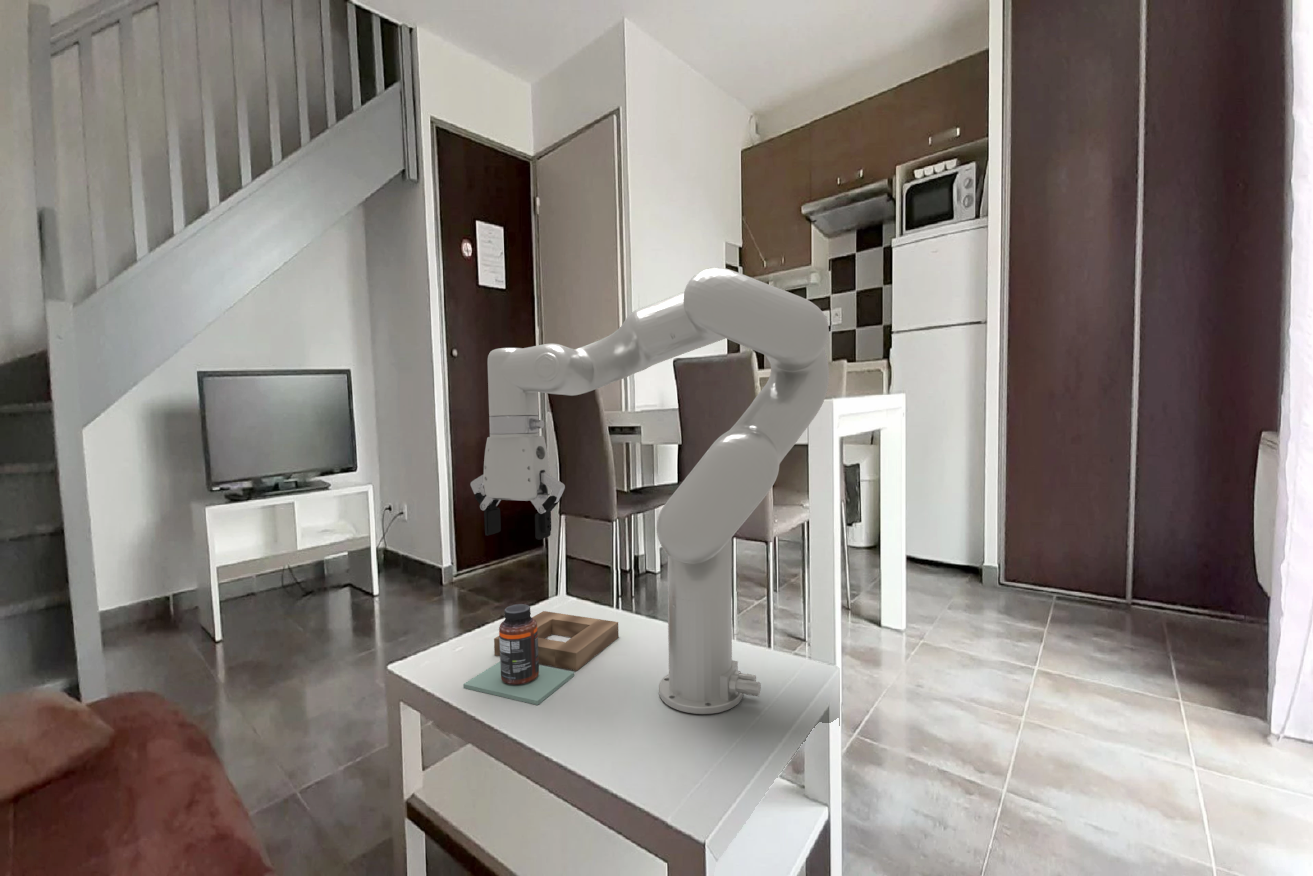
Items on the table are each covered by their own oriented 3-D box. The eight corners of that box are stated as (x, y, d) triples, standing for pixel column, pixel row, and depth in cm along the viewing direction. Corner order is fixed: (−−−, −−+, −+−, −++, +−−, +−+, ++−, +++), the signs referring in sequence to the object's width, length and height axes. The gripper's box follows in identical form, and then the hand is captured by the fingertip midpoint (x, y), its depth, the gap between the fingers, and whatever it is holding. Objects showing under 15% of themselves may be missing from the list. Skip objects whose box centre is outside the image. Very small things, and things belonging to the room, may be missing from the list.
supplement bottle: (530, 666, 93) (528, 599, 92) (545, 679, 88) (543, 608, 87) (495, 676, 89) (493, 606, 89) (508, 690, 85) (506, 617, 84)
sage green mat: (574, 675, 90) (574, 671, 90) (537, 705, 81) (537, 701, 81) (504, 661, 96) (504, 658, 96) (463, 688, 87) (463, 684, 87)
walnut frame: (618, 637, 106) (618, 622, 106) (576, 671, 92) (576, 653, 92) (543, 625, 113) (543, 611, 112) (494, 655, 99) (494, 638, 99)
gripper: (574, 426, 88) (577, 534, 88) (486, 427, 94) (489, 528, 95) (547, 427, 81) (550, 544, 81) (454, 429, 87) (458, 537, 88)
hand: (517, 535), depth 88 cm, fingers open, 9 cm apart
